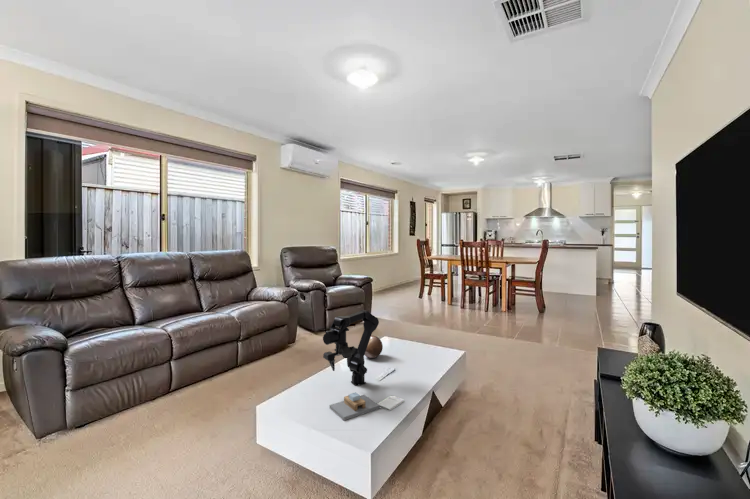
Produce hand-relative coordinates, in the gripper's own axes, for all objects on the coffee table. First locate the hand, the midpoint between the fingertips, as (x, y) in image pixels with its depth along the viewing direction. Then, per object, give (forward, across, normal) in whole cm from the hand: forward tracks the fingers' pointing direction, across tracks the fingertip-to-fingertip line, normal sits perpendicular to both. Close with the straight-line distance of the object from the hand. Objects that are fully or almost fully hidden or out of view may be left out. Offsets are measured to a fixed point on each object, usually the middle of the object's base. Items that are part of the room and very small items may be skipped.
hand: (341, 368), depth 186 cm
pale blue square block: (+7, -4, -20) cm, 22 cm away
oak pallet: (+10, -4, -20) cm, 23 cm away
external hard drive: (+13, +12, -27) cm, 32 cm away
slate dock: (+12, -4, -21) cm, 24 cm away
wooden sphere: (+12, +44, +34) cm, 56 cm away
